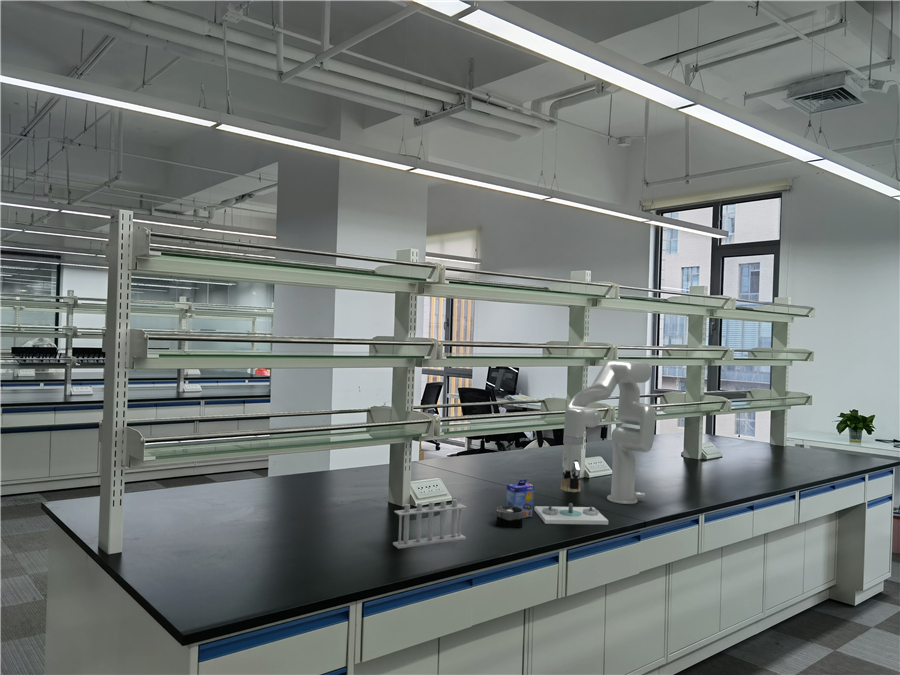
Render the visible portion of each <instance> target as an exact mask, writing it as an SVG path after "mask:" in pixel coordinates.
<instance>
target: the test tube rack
mask: <svg viewBox="0 0 900 675" xmlns="http://www.w3.org/2000/svg"><path fill="white" fill-rule="evenodd" d="M451 502H452V503H451V504H447V501H446V500H443V499H441V500H440V505H438V506H435V502H434V501H429V502H428V506H427V507H423V502H417V504H416V508H411V504H410V503H405V504H404V506H403V507H404V509H400V510H394V511H393V512H394V513H395V514H396V515H398V519H399V520H398V521H399V522H398V540H397V541H393V542H392V545H393V547H396V548H397V549H398V550H400V549H405V548H406V549H407V548H412V547H421V546H426V545H434V544H441V543H449V542H455V541H456V542H457V541H463V540H467V537H466V536H465V535H463V534H462V533H461V531H462V530H461V528H462V527H461V526H462V510H463V509H467V508H468V506H466V505H464V504H463V503H458V502H459V501H458V499H457V498H455V499H454V498H453V499H452V501H451ZM447 511H451V524H450V526H451V527H450V534H445V531H446V512H447ZM435 512H440V514H439V535H437V536H434V517H435ZM425 513H426V514H427V513H428V519H427V520H428V521H427V522H428V523H427V537H422V522H423V521H422V519H423V514H425ZM411 515H416V517H415V518H416V521H415V539H410V538H409V536H410V518H411V517H410V516H411ZM403 516H404V517H403ZM457 518H458V519H457ZM457 521H458V526H457ZM402 522H403V523H402ZM402 525H403V538H402ZM457 527H458V529H457ZM402 539H403V540H402ZM409 539H410V540H409Z"/></svg>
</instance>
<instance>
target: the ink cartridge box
mask: <svg viewBox="0 0 900 675" xmlns="http://www.w3.org/2000/svg"><path fill="white" fill-rule="evenodd" d="M527 481H528V479H527V478H525V479H519V481H518V482H517V483H511V484H510V483H509V484H506V499H505V500H506V501H505V506H515V507H519V508H522V509H523V510H524V518H523V519H525V518H530V517H533V510H534V509H533V508H534V496H535V493H534V492H535V485H534V484H532V483H528V482H527Z"/></svg>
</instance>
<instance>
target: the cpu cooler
mask: <svg viewBox="0 0 900 675" xmlns="http://www.w3.org/2000/svg"><path fill="white" fill-rule="evenodd" d="M495 516H496V526H497V527H501V528H511V529H519V528H520V529H521V528H523V519H525V518H524V510H523V509H522V508H519V507H515V506H506V505H501V506H497V507H496V510H495Z"/></svg>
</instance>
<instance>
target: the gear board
mask: <svg viewBox="0 0 900 675" xmlns="http://www.w3.org/2000/svg"><path fill="white" fill-rule="evenodd" d="M534 512H536V514H537V515H538V517H539V518H540V519H541V520H542V522H543V523H544V524H546V525H547V524H548V525H551V524H553V525H607V526H608V525H609V519H608V518H606V517H605V516H604V515H603V514H602V513H601V512H600V511H599V510H598V509H596V507H593V506H591V505H590V506H589V507H588V506H587V507H586V506H574V504H573V503H572V502H569V503H568V506H552V505H549V506H545V505H543V506H541V505H540V506H537V505H536V506H534Z"/></svg>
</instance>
